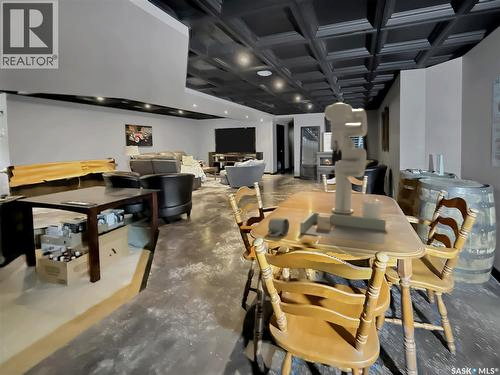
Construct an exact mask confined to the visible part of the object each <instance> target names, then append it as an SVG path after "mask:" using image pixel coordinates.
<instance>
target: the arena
mask: <svg viewBox="0 0 500 375" xmlns="http://www.w3.org/2000/svg"><path fill="white" fill-rule="evenodd" d="M320 213H322V214H327V213H324V212H315V211H313V212H311V213H310V214H309V215H308V216H306V217H305V218H304V219H303V220H302V221H301V222H300V227H299V228H300V229H299V230H300V231H299V234H301V235H306V236H307V235H308V236H315V237H318V236H321V237H329V238H336V239H337V238H338V239H343V240H351V241H358V242H366V243H373V244H380V245H384V243H385V236H386V235H385V234H386V224H387V223H386V222H387V220H386V219H384V218H380V219H376V218H366V217H363V216H354V215H346V214H345V215H344V214H335V213H331V214H332V226H331V228H330V229H324V228H317V216H318V215H319V214H320Z"/></svg>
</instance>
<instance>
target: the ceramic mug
mask: <svg viewBox="0 0 500 375" xmlns="http://www.w3.org/2000/svg"><path fill="white" fill-rule="evenodd" d="M289 229H290V221H289V219H288V218H286V217H285V218H281V217H280V218H279V217H272V218H271V219H270V220H269V221H268V231H267V233H268V235H269V237H271V238H275V237H278V236H280V235H283V236H285V235H287V234H288V232H289V231H290V230H289ZM272 233H273V234H272Z"/></svg>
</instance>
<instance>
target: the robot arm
mask: <svg viewBox="0 0 500 375" xmlns="http://www.w3.org/2000/svg"><path fill="white" fill-rule="evenodd" d="M324 109H325V110H324V117H325V119H326V120H327V121H329V122H330V130H329V131H330V132H331V136H330V148H329V149H330V150H331V151H332V152H331V162H335V164H334V167H333V168H334V176H335V177H334V178H335V185H334V186H335V187H334V189H335V190H334V191H335V192H334V207H332V209H331V211H332V212H334V213H337V214H343V215H344V214H345V215H346V214H352V213H354V209H352V188H353V187H352V181H351V180H350V178H361V177H363V176H364V175H365V172H366V166H367V165H366V164H367V155H368V154H367V150H366V149H365V148H361V147H356V143H355V142H354V140H353V139H352V138H355V137H356V138H359V137H365V136H366V135H367V134H368V120H367V119H368V117H367V113H366V111H365V109H364V108H358V109H356V108H355V109H354V108H353V107H352V106H351V105H350V104H346V103H343V102H336V103H333V104H331V105H327V106H326V107H325V108H324ZM351 137H352V138H351Z"/></svg>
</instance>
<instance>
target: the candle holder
mask: <svg viewBox="0 0 500 375" xmlns="http://www.w3.org/2000/svg"><path fill="white" fill-rule="evenodd" d="M383 204H384V203H383V201H382V200H378V199H363V200H362V207H361V208H362V209H361V210H362V217H366V218H376V219H382V218H381V216H382V211H383V210H382V209H383Z"/></svg>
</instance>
